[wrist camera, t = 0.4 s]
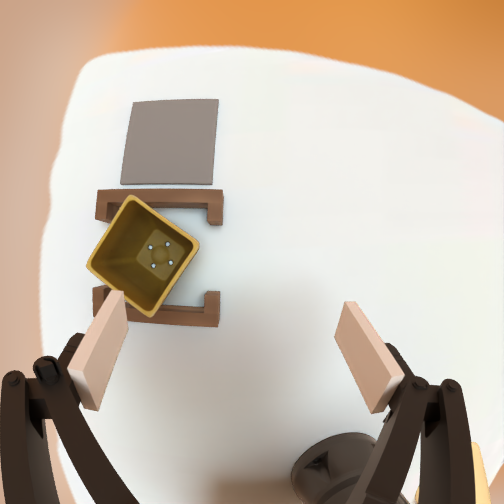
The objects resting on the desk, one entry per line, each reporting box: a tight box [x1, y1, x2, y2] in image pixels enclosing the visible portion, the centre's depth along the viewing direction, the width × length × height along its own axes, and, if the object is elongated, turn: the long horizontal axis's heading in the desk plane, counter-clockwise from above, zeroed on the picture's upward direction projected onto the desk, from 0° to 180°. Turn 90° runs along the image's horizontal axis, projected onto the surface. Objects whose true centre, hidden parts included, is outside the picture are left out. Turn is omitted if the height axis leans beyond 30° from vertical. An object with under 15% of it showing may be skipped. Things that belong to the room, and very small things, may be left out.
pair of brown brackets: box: [93, 189, 224, 327], centre depth 33 cm, size 15×15×4 cm
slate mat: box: [120, 99, 219, 185], centre depth 35 cm, size 12×12×1 cm
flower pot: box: [86, 195, 199, 317], centre depth 31 cm, size 9×9×9 cm
